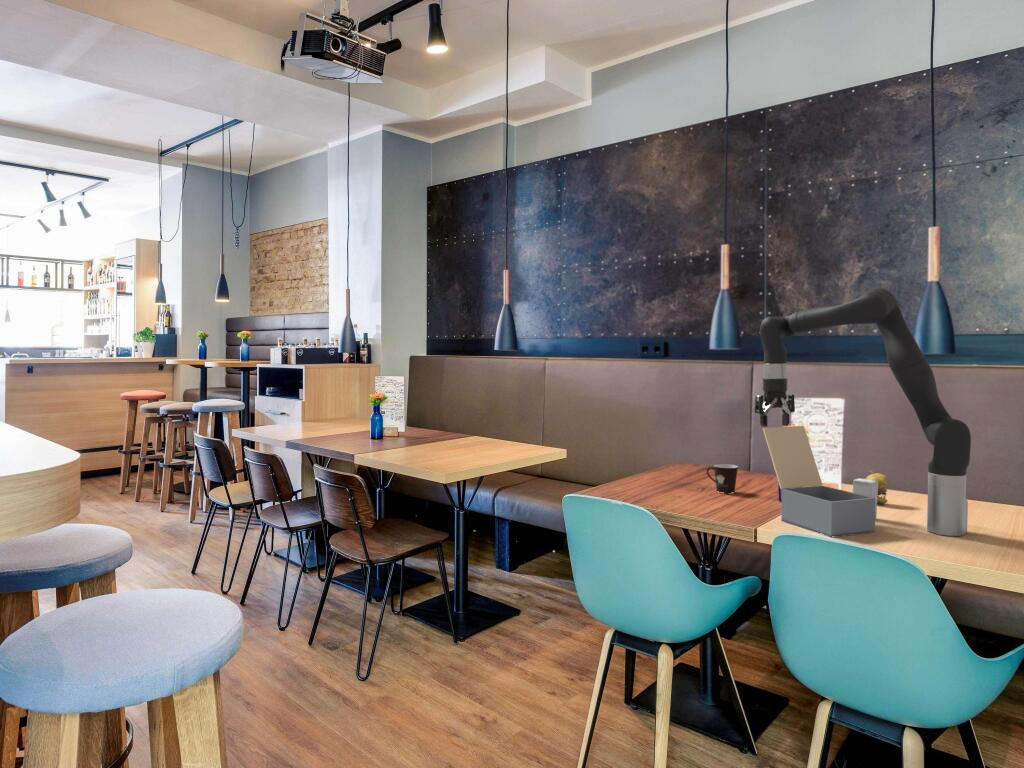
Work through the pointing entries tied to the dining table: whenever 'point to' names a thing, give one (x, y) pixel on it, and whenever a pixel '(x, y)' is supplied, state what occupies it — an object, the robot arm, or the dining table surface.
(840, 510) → the carton
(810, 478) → the carton flap
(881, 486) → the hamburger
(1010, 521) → the dining table surface
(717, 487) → the coffee mug
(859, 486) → the skincare box
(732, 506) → the dining table surface
